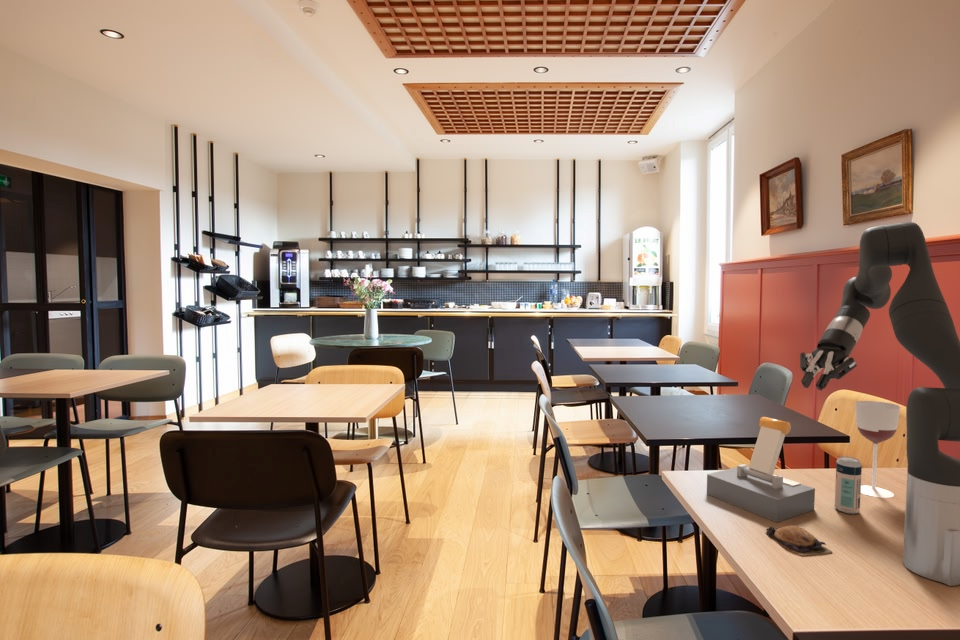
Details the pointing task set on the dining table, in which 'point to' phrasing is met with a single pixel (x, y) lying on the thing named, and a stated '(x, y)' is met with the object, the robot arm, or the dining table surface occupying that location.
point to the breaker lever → (767, 448)
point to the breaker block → (761, 493)
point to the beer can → (848, 485)
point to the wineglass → (876, 434)
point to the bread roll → (797, 541)
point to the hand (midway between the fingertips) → (811, 386)
